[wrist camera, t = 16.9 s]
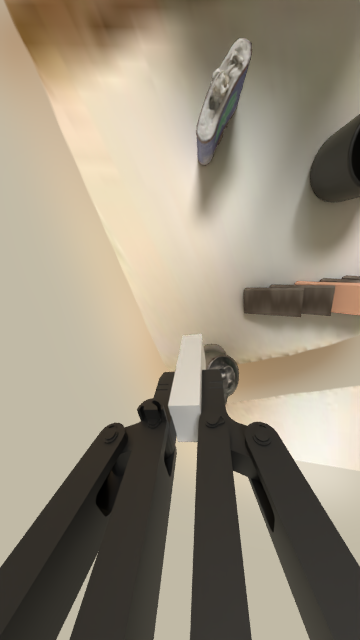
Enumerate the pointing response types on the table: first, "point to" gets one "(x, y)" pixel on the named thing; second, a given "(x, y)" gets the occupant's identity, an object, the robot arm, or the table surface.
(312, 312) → the domino
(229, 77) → the flask
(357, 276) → the domino
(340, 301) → the domino
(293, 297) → the domino
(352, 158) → the mug
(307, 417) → the table surface
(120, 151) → the table surface
